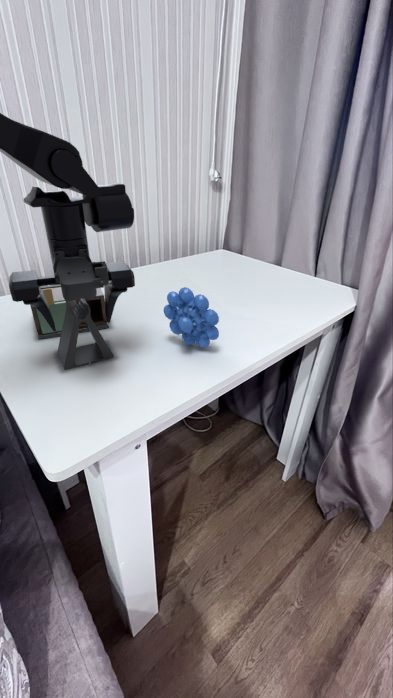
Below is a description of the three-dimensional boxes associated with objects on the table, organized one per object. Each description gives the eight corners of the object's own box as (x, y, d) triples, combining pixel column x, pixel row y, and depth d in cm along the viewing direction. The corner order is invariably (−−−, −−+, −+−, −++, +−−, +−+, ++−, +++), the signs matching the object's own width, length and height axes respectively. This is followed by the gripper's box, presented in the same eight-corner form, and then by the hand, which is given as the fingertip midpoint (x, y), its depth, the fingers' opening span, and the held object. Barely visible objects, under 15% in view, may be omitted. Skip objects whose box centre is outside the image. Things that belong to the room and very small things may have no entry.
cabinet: (38, 339, 66) (30, 307, 62) (36, 316, 74) (28, 287, 70) (109, 327, 71) (105, 297, 67) (100, 307, 79) (96, 279, 75)
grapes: (154, 348, 65) (152, 291, 59) (169, 332, 70) (169, 279, 64) (209, 363, 62) (213, 304, 55) (221, 345, 67) (226, 290, 60)
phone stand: (63, 370, 58) (50, 308, 51) (57, 353, 62) (44, 294, 56) (114, 358, 62) (107, 298, 55) (105, 342, 66) (97, 286, 60)
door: (39, 335, 66) (28, 291, 61) (38, 332, 67) (27, 289, 62) (77, 328, 68) (69, 286, 63) (76, 326, 69) (69, 284, 64)
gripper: (-6, 257, 41) (25, 360, 49) (141, 245, 48) (146, 338, 56) (-2, 234, 49) (24, 326, 58) (123, 227, 56) (129, 310, 64)
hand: (82, 325), depth 59 cm, fingers open, 9 cm apart
